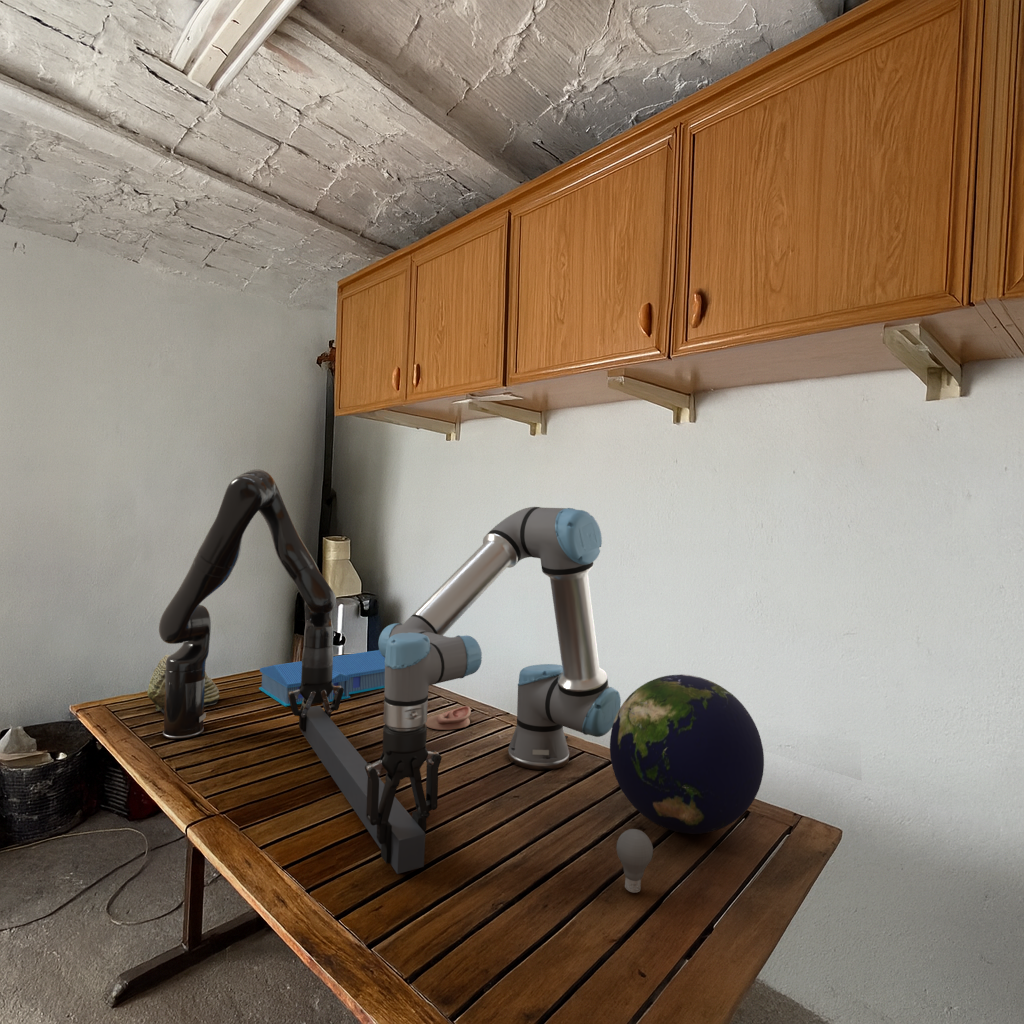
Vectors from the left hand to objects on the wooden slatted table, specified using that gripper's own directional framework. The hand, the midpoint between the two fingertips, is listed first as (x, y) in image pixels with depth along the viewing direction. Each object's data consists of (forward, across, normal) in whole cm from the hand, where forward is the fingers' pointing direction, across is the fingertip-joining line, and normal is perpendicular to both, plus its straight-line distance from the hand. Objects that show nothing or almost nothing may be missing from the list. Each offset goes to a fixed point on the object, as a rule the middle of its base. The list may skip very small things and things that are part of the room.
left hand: (314, 728), depth 161 cm
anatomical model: (+4, +37, -1) cm, 37 cm away
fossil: (+5, -26, +44) cm, 51 cm away
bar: (+2, 0, -29) cm, 29 cm away
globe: (+3, +55, -73) cm, 91 cm away
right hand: (+2, 0, -59) cm, 59 cm away
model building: (+5, +17, +44) cm, 47 cm away
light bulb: (+3, +31, -85) cm, 90 cm away
